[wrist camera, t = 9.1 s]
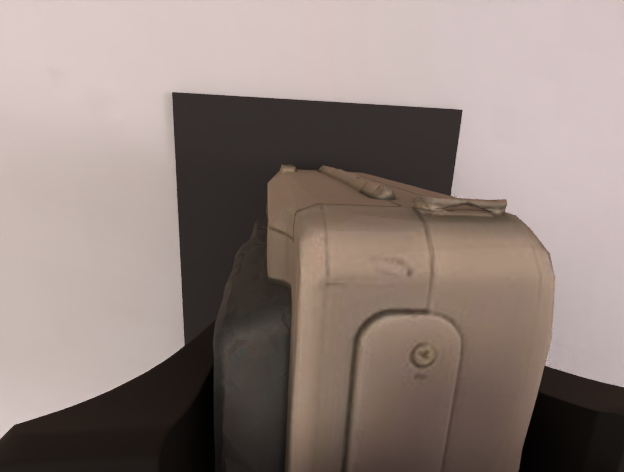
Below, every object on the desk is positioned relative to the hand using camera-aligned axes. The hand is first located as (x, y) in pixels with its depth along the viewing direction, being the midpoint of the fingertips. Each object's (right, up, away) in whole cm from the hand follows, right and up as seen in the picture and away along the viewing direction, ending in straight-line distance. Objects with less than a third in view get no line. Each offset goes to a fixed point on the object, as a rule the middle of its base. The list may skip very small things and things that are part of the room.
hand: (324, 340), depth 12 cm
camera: (0, +1, +3) cm, 4 cm away
